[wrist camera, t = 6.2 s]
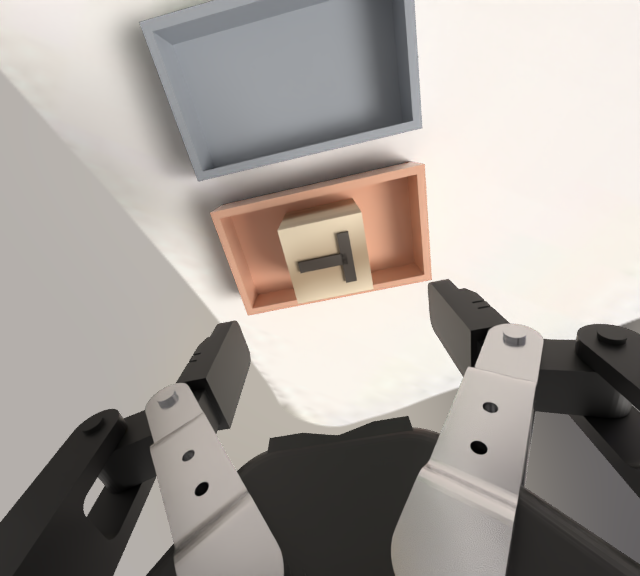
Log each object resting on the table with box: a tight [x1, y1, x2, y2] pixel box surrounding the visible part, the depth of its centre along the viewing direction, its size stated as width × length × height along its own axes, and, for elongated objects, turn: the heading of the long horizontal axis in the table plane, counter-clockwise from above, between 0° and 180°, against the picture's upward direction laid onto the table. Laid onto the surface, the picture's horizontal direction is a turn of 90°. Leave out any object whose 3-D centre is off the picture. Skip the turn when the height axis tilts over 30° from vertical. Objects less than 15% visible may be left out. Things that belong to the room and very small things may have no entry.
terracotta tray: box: [210, 161, 432, 315], centre depth 22 cm, size 8×14×3 cm, turn 102°
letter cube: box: [278, 198, 374, 304], centre depth 21 cm, size 5×5×5 cm
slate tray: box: [139, 0, 422, 181], centre depth 18 cm, size 8×14×3 cm, turn 102°
